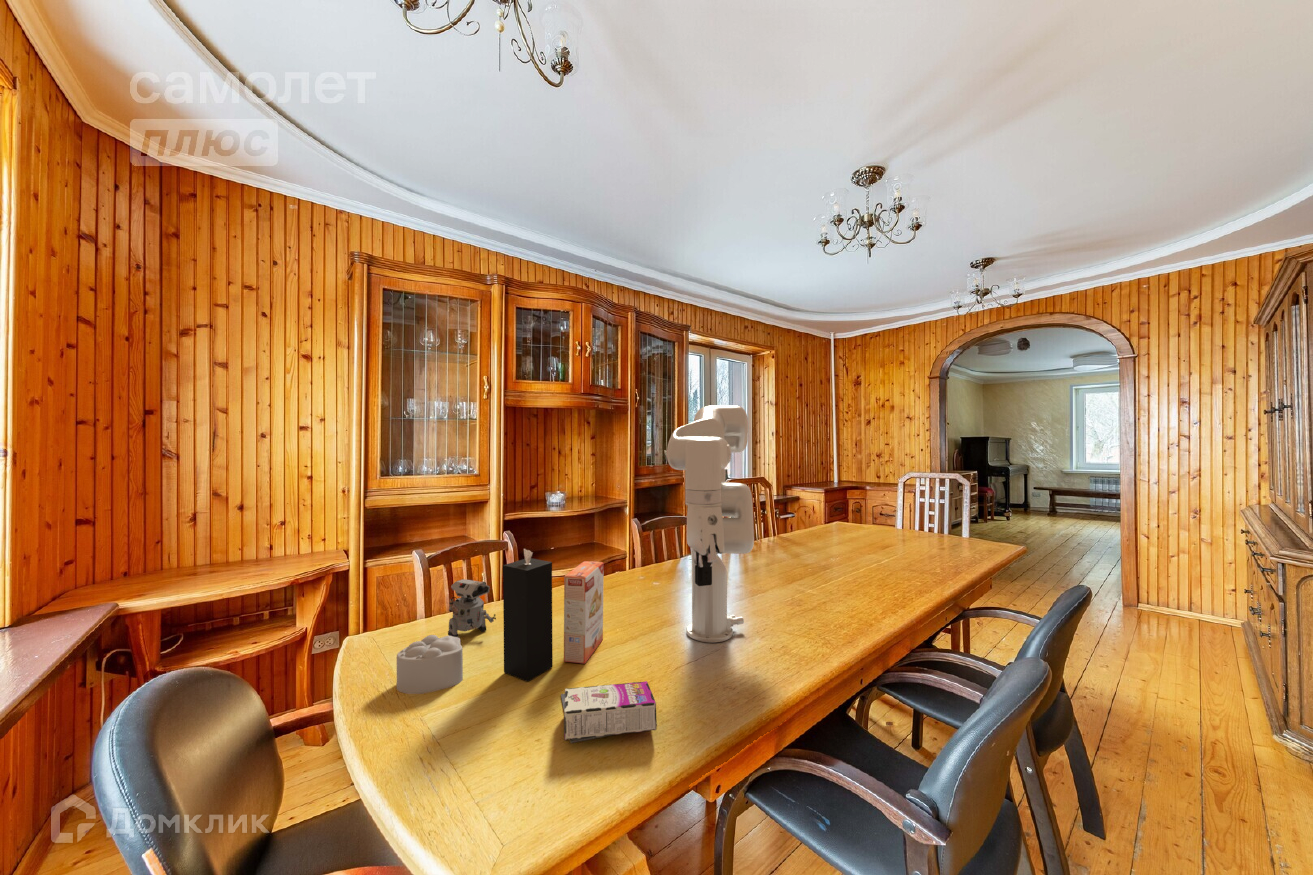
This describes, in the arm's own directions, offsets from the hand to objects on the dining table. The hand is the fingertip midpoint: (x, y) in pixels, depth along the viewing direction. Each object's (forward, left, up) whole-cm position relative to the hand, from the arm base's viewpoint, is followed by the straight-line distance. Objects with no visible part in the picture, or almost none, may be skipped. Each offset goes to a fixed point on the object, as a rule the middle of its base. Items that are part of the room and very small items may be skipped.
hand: (703, 584), depth 101 cm
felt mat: (+21, 0, -23) cm, 31 cm away
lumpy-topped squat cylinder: (+56, -23, -23) cm, 65 cm away
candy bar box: (+13, +7, -20) cm, 25 cm away
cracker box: (+21, -27, -23) cm, 41 cm away
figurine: (+49, -45, -23) cm, 70 cm away
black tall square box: (+35, -21, -23) cm, 47 cm away
